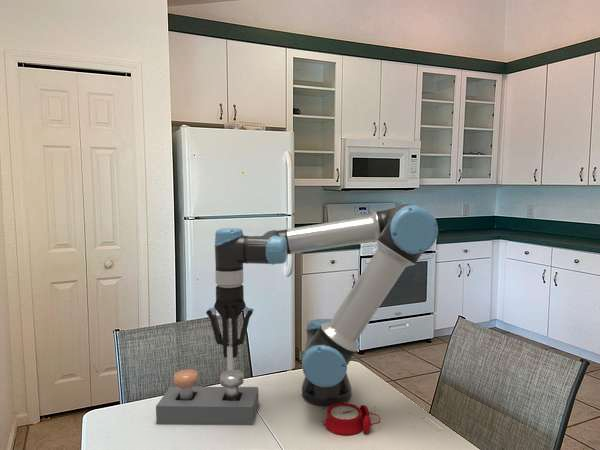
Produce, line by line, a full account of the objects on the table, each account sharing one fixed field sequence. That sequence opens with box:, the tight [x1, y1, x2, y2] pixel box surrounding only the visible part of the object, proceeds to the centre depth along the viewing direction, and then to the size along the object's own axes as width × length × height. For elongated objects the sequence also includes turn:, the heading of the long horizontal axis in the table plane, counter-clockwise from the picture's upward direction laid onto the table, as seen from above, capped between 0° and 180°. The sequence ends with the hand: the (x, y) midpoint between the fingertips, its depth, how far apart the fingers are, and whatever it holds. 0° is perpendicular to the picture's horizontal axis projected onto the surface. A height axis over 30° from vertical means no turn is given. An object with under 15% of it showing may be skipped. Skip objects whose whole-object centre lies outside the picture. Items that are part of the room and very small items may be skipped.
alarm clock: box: [321, 402, 381, 436], centre depth 119 cm, size 10×6×15 cm
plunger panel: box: [155, 386, 260, 426], centre depth 126 cm, size 26×12×5 cm, turn 88°
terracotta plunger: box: [173, 368, 199, 400], centre depth 126 cm, size 6×6×7 cm
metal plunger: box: [219, 369, 245, 401], centre depth 125 cm, size 6×6×7 cm
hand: (231, 368), depth 125 cm, fingers closed
